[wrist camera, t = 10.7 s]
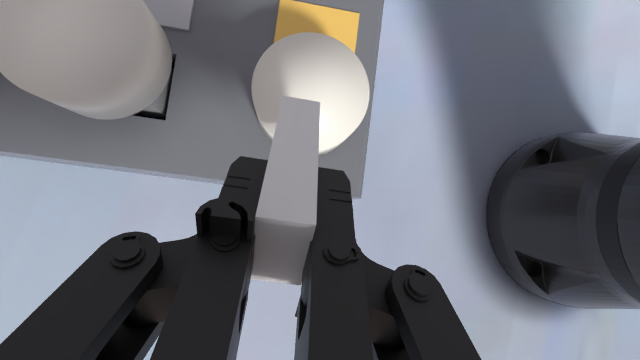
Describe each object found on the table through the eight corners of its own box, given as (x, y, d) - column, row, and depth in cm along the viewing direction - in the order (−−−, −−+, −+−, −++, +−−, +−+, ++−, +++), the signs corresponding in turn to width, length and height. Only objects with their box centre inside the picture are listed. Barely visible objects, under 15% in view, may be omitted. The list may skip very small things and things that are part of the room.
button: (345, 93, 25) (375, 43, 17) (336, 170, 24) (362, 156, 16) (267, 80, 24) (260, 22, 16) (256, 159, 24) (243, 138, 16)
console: (357, 42, 29) (386, -20, 21) (338, 199, 28) (361, 198, 20) (15, -20, 26) (-107, -122, 18) (-21, 152, 25) (-170, 128, 17)
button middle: (204, 56, 21) (158, -31, 13) (190, 145, 21) (133, 111, 13) (108, 39, 21) (-1, -62, 13) (90, 131, 20) (-34, 86, 12)
